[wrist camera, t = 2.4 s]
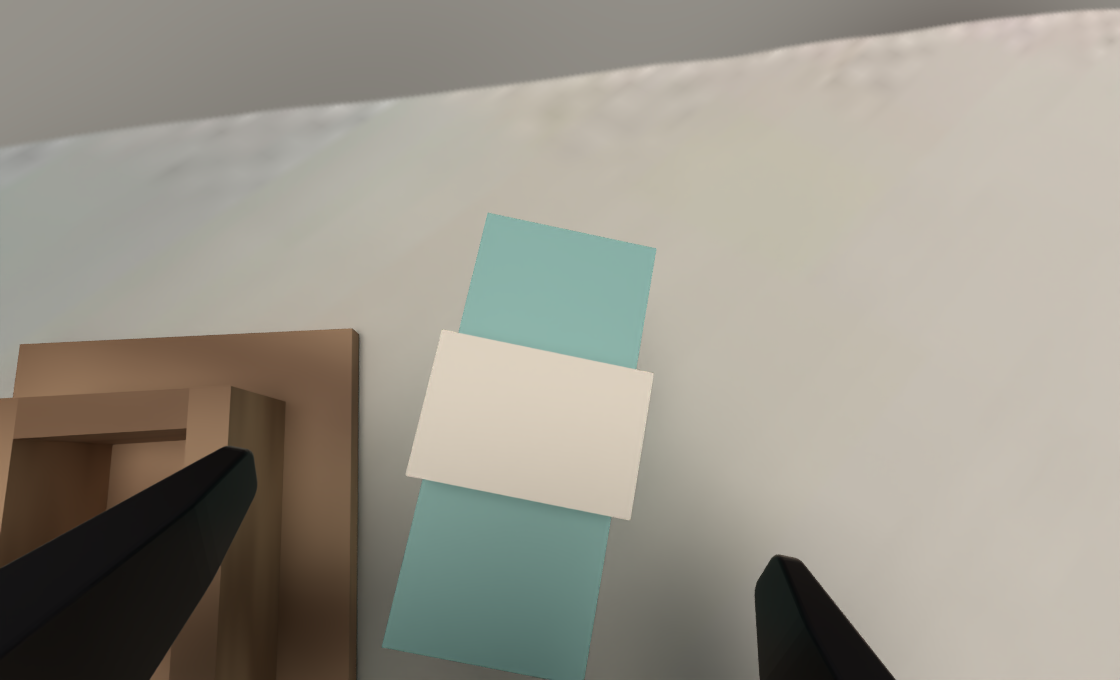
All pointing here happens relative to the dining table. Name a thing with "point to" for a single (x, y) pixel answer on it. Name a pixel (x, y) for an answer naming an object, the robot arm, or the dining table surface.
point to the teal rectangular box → (526, 452)
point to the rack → (185, 437)
